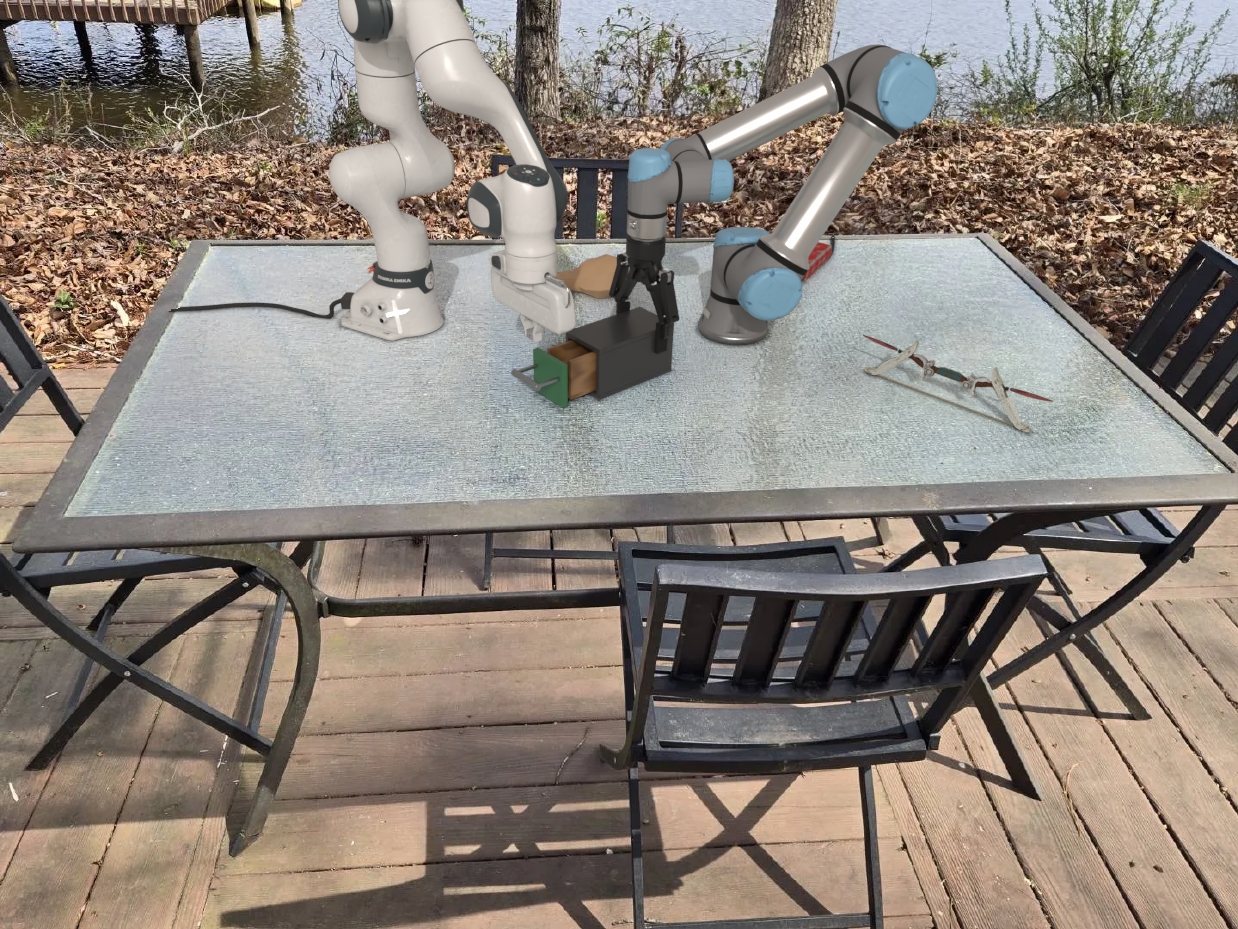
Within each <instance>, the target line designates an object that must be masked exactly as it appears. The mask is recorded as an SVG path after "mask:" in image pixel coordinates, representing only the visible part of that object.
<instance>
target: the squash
mask: <svg viewBox="0 0 1238 929" xmlns="http://www.w3.org/2000/svg"><path fill="white" fill-rule="evenodd" d="M616 266H617V256H616V255H615V256H614V255H611V254H607V253H605V254H602V255H599V256H597V257H591V258H586V259H585V260H583V261H582V262H580V264H579V265H578V266H577V267H575V268H574V269H571V270H563V271H562V270H561V271H557V276H556V277H557V278H558V279H562V280H563V281H565V283H566V285H567V287H568V289H570V291H571V292H573V291H574V292H579V293H583V294H586V295H587V296H590V297H593V298H595V299H606V298H609V299H610V298H612V297H610V296H609V291H610V288H611V284H612V280H613V277H614V273H615V269H616ZM629 270H630V268H629V269H628V272H629ZM627 274H628V273H627Z"/></svg>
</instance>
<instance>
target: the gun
mask: <svg viewBox="0 0 1238 929" xmlns="http://www.w3.org/2000/svg"><path fill="white" fill-rule="evenodd" d="M831 253H832V246H831V244H828V243H825V242H820V241H819V242H818V243H817V245H816V246H815V248H814V249H813V251H812V252H811V253H810V255H809V257H808V261H809V270H808V272H807V273H806V274H805V276H804V277H803V279H802V280H801V283H802V284H803V282H806V281H808V279H810V278H811V277H812V276H814V275H815V274H816V273H817V272H818V271H819V270H820V269H821V268H822V267H823V266H824V265H825V264H826V263H827V262H828V261H829V260H830V259H831V258H830V256H831ZM831 257H832V256H831ZM829 258H830V259H829ZM828 259H829V260H828ZM827 260H828V261H827ZM826 261H827V262H826ZM825 262H826V263H825ZM824 263H825V264H824ZM823 264H824V265H823ZM822 265H823V266H822Z"/></svg>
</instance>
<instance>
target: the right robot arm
mask: <svg viewBox="0 0 1238 929" xmlns="http://www.w3.org/2000/svg"><path fill="white" fill-rule="evenodd" d="M938 90H939V89H938V79H937V75H936V72H935V70H934V69H933V67H932V66H931V65H930V63H929V62H927V61H925V59H922V58H921V57H920V56H917V55H915V54H914V53H912V52H905V51H902V50H899V49H896V48H892V47H890V46H889V45H886V44H880V43H879V44H878V43H877V44H869V45H865V46H862V47H859V48H858V47H857V48H856V49H854V50H851V51H848V52H846V53H844V54H842V55H839V56H838V57H835V58H834V59H831V60H829V61H828V62H825V63H824V64H822V65H819V66H817V67H816V68H815V69H814V72H813V74H812V76H810V77H808V78H805V79H804V80H802V81H799V82H797V83H796V84H794V85H792V86H789V87H787V88H785V89H784V90H782V91H779V92H777V93H776V94H773V95H772V96H771V95H770V96H769V97H768V98H765V99H763V100H762V101H759V102H757V103H755V104H753V105H751V106H749V107H747V108H745V109H744V110H741V111H740V112H737V113H735V114H733V115H731V116H729V117H728V118H725V119H723V120H722V121H719V122H718V123H716V124H713V125H711V126H709V127H707V128H705V129H703V130H701V131H699V132H697V133H695V134H693V135H691V136H689V137H686V138H680V137H672V138H669V139H667V140H666V141H664V142H663V143H662V145H661V146H660V147H659V148H652V147H642V148H638V149H635V150H634V151H632V152H631V154H630V156H629V160H628V171H627V177H626V178H627V211H626V234H627V236H626V237H625V252H622V253H619V254H616V257H617V266H616V269H615V273H614V277H613V280H612V284H611V288H610V291H609V296H610V297H611V298H613V299H614V302H615V303H616V306H615V307H616V308H615V310H616V311H615V315H616V314H619V313H622V312H625V311H628V310H631V301H629V300H630V299H631V298H630V296H631V294H632V293H633V290H634V289H635V287H636V286H637V284H638V283H641V284H642V285H643V286H645V290H646V291H647V292H648V293H649V295H650V298H651V301H652V304H653V307H654V310H655V314H656V315H657V316H658V319H659V322H656V333H655V352H654V353H656V354H659V353H661V352H664V351H667V340H668V338H669V336H670V324H672V323H674V324H675V323H677V322H679V321H680V315H679V309H678V302H677V295H676V290H675V284H674V280H675V272H674V271H673V269H671V270H666V269H664V267H663V262H662V261H663V259H664V257H665V256H666V244H667V243H666V242H667V238H666V237H665V236H667V228H668V227H667V226H668V211H669V210H668V209H669V208H668V207H669V205H677V204H678V205H679V204H704V203H705V204H706V203H707V204H708V203H709V204H714V203H717V202H718V203H719V202H725V201H727V200H729V199H730V197H731V196H732V194H733V190H734V186H735V185H734V184H735V177H734V169H733V166H732V164H731V162H730V161H732V160H735V159H737V158H739V157H740V156H743V155H745V154H747V153H749V152H751V151H753V150H755V149H757V148H759V147H762V146H763V145H765V144H767V143H769V142H772V141H774V140H775V139H778V138H780V137H782V136H784V135H786V134H788V133H790V132H792V131H794V130H797V129H798V128H800V127H802V126H805V125H806V124H808V123H811V122H813V121H814V120H815V121H816V120H817V119H819V118H820V117H823V116H825V115H829V116H832V117H834V116H836V115H837V116H838V115H839V114H841V113H843V117H844V121H843V123H842V125H841V127H840V128H839V130H838V131H837V133H836V134H835V136H834V137H833V139H832V140H831V142H830V144H829V145H828V147H827V148H826V149H825V151H824V153H823V154H822V155H821V157H820V159H819V160H818V162H817V163H816V165H815V166H814V168H813V169H812V171H811V173H810V174H809V176H808V177H807V179H806V180H805V182H804V183H803V185H802V186H801V188H800V190H799V191H798V193H797V194H796V195H795V197H794V199H793V200H792V202H791V203H790V205H789V206H788V207H787V209H786V211H785V212H784V214H783V216H782V217H781V218H780V220H779V222H778V223H777V225H776V226H775V227H774V229H773V231H772V232H771V233H770V232H769V231H768V230H765V229H763V228H758V227H751V226H750V227H749V226H734V227H726V228H723V229H720V230H719V231H717V232H716V234H715V236H714V243H713V245H712V248H713V252H712V265H711V275H710V276H711V277H710V289H709V290H710V291H709V297H708V299H707V302H706V303H705V306H704V309H703V311H702V314H701V315H700V318H699V321H698V331H699V333H700V334H701V335H702V336H703V337H704V338H705V339H708V340H710V341H713V342H715V343H719V344H723V345H729V346H747V345H753V344H756V343H759V342H761V341H763V340H764V339H765V338H766V337H767V334H768V328H769V324H768V322H771V321H776V320H779V319H783V318H785V317H786V316H788V315H789V314H790V313H792V312H793V311H794V310H795V309H796V308H797V307H798V305H799V304H800V301H801V299H802V297H803V282H802V283H801V280H802V279H803V277H804V276H805V274H806V273H807V272H808V270H809V261H808V257H809V255H810V253H811V252H812V251H813V249H814V248H815V246H816V245H817V243H818V242H820V240H821V239H822V237H823V236H824V234H825V233H826V231H827V230H828V229H829V227H830V226H831V224H832V222H833V221H834V220H835V218H836V217H837V215H838V214H839V212H840V211H841V210H842V208H843V206H844V205H845V203H846V202H847V200H848V199H849V197H851V195H852V194H853V192H854V190H855V189H856V187H857V186H858V184H859V183H860V182H861V180H862V178H863V177H864V176H865V174H866V172H867V171H868V170H869V168H870V167H871V165H872V163H873V162H874V161H875V159H876V158H877V157H878V155H879V153H880V152H881V150H883V148H884V147H885V146H888V145H893V144H896V142H897V141H898V140H899V138H900V137H901V135H902V134H903V132H904V131H905V130H908V129H912V128H913V127H916V126H919V125H920V124H922V122H924V121H925V120H926V119H927V118H928V116H929V115H930V114H931V112H932V110H933V108H934V107H935V104H936V100H937V97H938V92H939V91H938ZM832 237H834V238H832ZM835 244H836V236H835V235H834V234H832V235H831V243H830V245H831V246H832V253H831V256H830V258H829V259H828V260H827V261H826V262H825V263H824V264H823V265H822V266H821V267H823V266H825V264H826V263H827V262H828V261H829V260H830V259H831V258H832V256H833V255H834V251H835V246H836V245H835ZM628 269H629V272H628ZM627 273H628V274H627ZM655 283H656V284H655Z"/></svg>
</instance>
